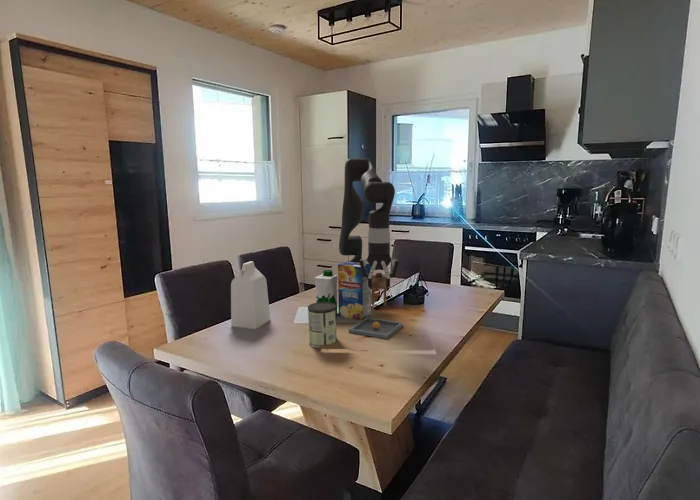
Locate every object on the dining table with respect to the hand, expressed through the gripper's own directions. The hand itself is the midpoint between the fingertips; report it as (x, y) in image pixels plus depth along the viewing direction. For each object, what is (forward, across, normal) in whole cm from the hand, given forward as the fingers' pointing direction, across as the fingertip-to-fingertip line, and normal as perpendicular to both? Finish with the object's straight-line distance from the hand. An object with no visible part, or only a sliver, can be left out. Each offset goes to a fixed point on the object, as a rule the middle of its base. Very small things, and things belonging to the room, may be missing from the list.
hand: (379, 288), depth 148 cm
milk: (+22, -54, +24) cm, 63 cm away
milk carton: (+22, -23, +34) cm, 47 cm away
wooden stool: (+5, 0, 0) cm, 5 cm away
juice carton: (+22, -10, +31) cm, 39 cm away
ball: (+19, -1, +15) cm, 24 cm away
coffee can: (+22, -21, +3) cm, 30 cm away
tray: (+21, -1, +15) cm, 26 cm away
